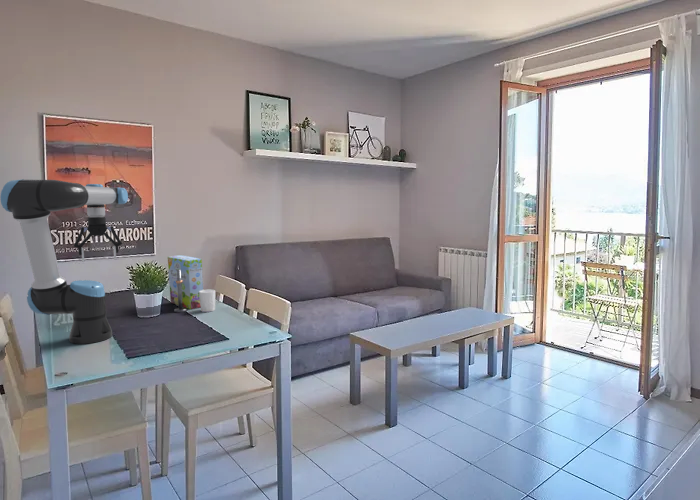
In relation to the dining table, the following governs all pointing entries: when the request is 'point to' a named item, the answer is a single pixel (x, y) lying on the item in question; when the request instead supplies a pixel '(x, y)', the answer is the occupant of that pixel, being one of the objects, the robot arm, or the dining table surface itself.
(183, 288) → the snack box
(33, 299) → the robot arm
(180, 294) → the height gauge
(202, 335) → the dining table surface
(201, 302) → the white cup
